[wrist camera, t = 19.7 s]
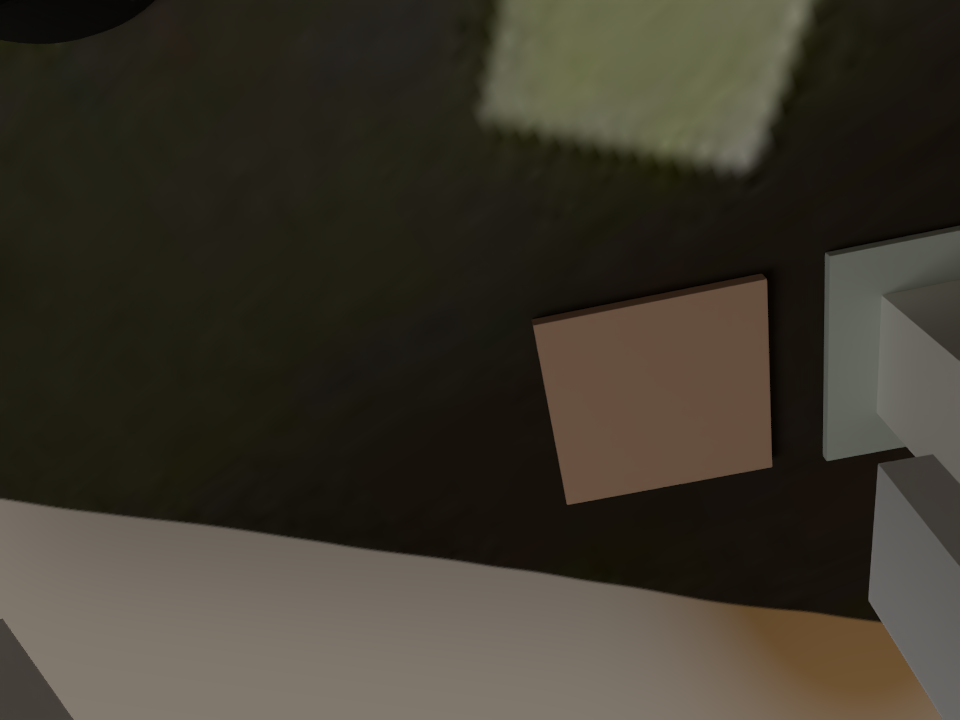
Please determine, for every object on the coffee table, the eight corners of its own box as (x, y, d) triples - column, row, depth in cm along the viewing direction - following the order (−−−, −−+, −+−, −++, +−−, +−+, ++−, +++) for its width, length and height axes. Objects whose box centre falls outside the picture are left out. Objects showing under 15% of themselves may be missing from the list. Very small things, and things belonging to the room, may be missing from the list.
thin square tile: (565, 496, 51) (567, 504, 50) (531, 319, 45) (533, 325, 44) (767, 459, 50) (772, 466, 50) (761, 273, 44) (766, 279, 43)
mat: (823, 455, 50) (826, 460, 50) (825, 252, 44) (830, 256, 43) (1048, 413, 50) (1055, 418, 49) (1086, 200, 43) (1094, 203, 42)
